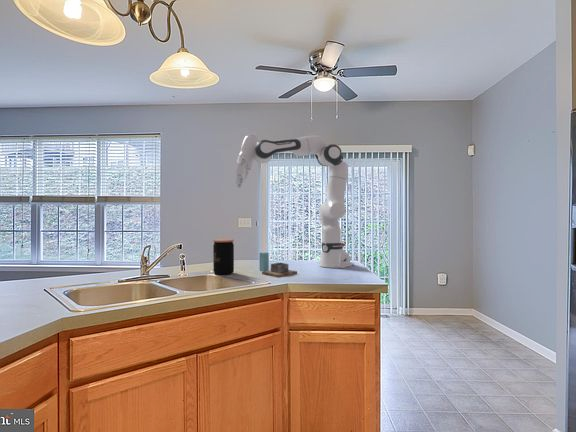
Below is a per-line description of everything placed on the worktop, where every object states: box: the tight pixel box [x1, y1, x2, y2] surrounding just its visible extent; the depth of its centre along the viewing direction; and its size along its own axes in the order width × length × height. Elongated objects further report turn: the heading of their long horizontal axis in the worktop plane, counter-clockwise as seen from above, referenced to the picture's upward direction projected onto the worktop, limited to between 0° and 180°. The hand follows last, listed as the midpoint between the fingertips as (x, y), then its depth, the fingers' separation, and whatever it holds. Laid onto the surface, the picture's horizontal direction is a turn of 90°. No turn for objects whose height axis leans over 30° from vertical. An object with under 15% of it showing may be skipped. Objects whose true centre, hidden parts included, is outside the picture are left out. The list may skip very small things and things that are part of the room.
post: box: [259, 251, 270, 272], centre depth 185 cm, size 4×4×10 cm
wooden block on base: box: [261, 262, 298, 278], centre depth 176 cm, size 14×12×5 cm
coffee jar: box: [212, 238, 235, 276], centre depth 177 cm, size 11×11×18 cm
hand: (238, 185), depth 188 cm, fingers open, 8 cm apart
